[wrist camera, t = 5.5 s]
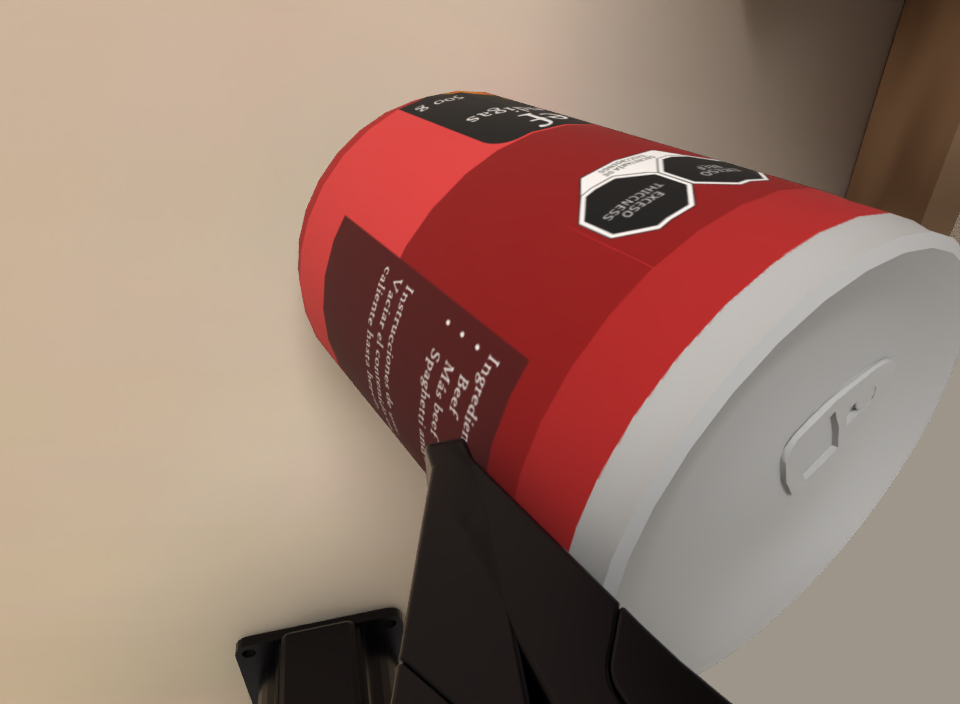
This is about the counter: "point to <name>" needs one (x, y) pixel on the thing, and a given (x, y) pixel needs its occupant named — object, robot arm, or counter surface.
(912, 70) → the tan bone-shaped block
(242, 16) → the counter surface
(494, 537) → the robot arm
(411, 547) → the counter surface
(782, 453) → the canned food
